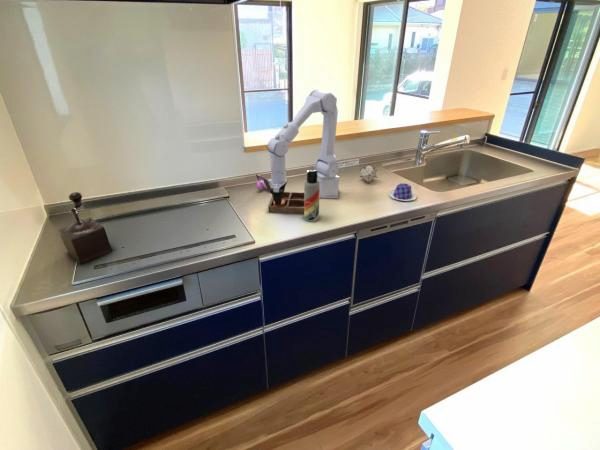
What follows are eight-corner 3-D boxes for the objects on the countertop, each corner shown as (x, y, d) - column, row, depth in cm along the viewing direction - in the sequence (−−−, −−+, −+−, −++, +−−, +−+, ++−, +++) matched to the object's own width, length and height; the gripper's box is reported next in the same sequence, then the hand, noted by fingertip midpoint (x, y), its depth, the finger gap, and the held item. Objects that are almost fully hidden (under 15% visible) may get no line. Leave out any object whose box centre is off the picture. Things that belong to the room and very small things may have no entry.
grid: (307, 198, 151) (308, 192, 150) (305, 214, 138) (305, 208, 137) (274, 196, 152) (274, 191, 151) (268, 212, 139) (268, 206, 138)
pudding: (404, 189, 159) (406, 178, 157) (422, 199, 150) (424, 188, 147) (383, 193, 155) (384, 182, 152) (399, 204, 145) (401, 193, 143)
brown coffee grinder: (115, 249, 116) (99, 201, 107) (80, 265, 108) (60, 214, 100) (94, 234, 124) (78, 189, 115) (60, 248, 117) (40, 200, 108)
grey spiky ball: (364, 186, 171) (365, 167, 172) (380, 184, 165) (381, 164, 166) (355, 182, 164) (356, 162, 165) (371, 180, 158) (372, 159, 160)
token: (285, 204, 144) (285, 199, 143) (284, 209, 140) (284, 204, 138) (274, 204, 144) (274, 198, 143) (272, 209, 140) (272, 203, 139)
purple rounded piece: (268, 179, 152) (257, 173, 158) (259, 185, 150) (248, 179, 156) (273, 190, 157) (262, 184, 163) (264, 197, 155) (253, 190, 161)
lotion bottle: (308, 223, 132) (309, 173, 122) (301, 216, 136) (301, 168, 126) (321, 219, 134) (323, 171, 124) (314, 213, 138) (315, 166, 128)
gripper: (271, 163, 140) (272, 193, 147) (264, 176, 128) (266, 208, 135) (288, 163, 140) (288, 194, 147) (283, 177, 127) (284, 209, 134)
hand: (279, 201), depth 141 cm, fingers open, 6 cm apart
